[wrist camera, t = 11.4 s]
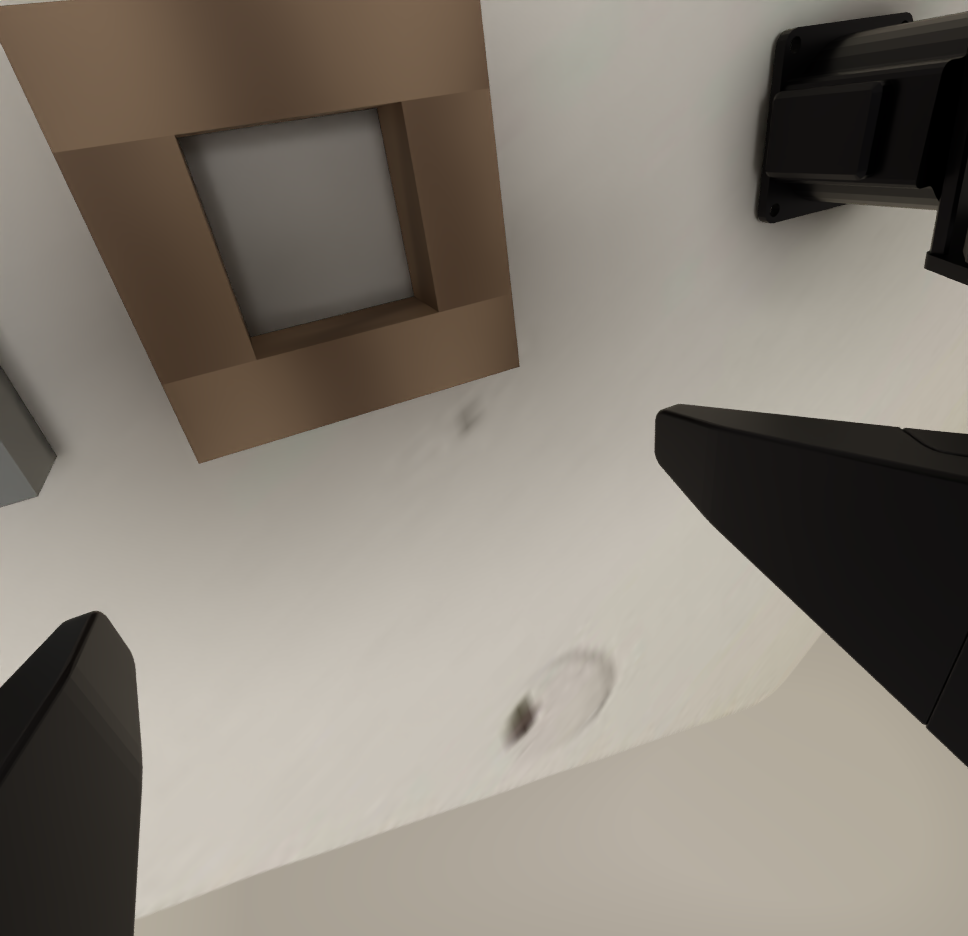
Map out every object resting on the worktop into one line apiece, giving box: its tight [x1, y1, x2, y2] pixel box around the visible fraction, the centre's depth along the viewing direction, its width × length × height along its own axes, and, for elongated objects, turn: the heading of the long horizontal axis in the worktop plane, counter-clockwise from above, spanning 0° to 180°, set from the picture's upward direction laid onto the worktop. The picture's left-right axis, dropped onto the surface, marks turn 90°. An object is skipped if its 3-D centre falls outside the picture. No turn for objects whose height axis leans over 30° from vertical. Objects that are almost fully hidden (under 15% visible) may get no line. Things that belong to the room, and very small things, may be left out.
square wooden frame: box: [0, 0, 520, 464], centre depth 16 cm, size 10×10×2 cm
